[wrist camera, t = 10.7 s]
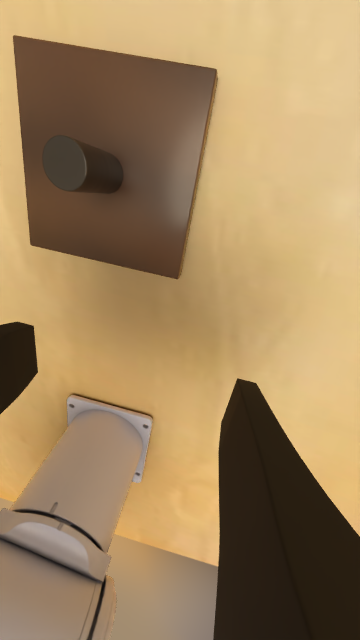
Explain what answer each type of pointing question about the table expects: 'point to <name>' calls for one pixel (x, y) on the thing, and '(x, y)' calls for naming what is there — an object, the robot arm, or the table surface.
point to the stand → (111, 151)
